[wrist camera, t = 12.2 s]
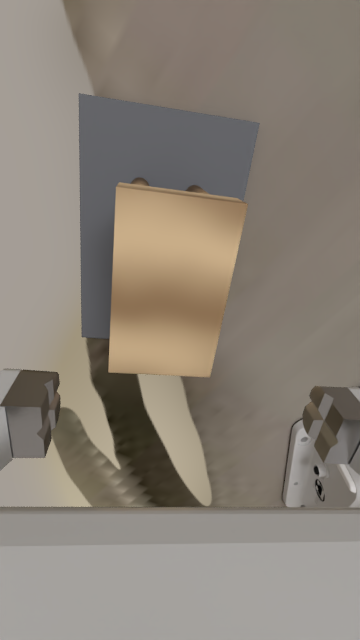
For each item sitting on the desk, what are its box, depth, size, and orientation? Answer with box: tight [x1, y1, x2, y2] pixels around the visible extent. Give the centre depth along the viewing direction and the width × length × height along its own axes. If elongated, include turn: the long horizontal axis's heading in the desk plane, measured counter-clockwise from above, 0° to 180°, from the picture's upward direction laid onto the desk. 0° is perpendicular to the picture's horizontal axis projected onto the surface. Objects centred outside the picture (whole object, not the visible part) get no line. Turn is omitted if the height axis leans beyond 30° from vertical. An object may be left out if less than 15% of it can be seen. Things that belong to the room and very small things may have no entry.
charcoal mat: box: [79, 93, 259, 339], centre depth 26 cm, size 18×12×1 cm, turn 173°
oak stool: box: [108, 177, 248, 377], centre depth 21 cm, size 10×6×10 cm, turn 172°
